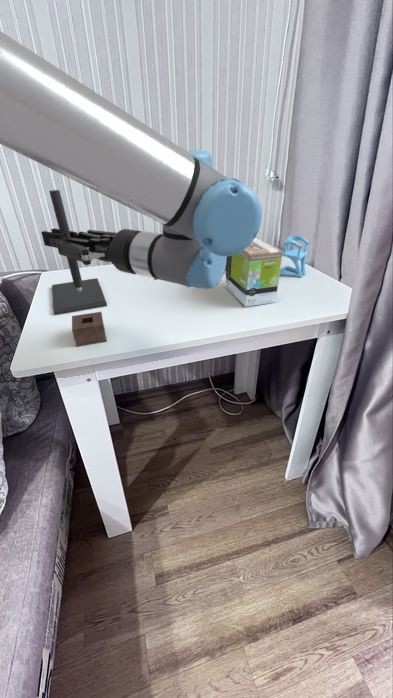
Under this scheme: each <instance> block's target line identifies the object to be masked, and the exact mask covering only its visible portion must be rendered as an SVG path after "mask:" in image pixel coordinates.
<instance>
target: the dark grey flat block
mask: <svg viewBox="0 0 393 698" xmlns="http://www.w3.org/2000/svg"><path fill="white" fill-rule="evenodd" d="M82 283H83V286H82V290H81V292H79V291H78V290H77V288H75V287H74V283H73V281H69V282H62V283H56V284H51V290H52V293H51V294H52V310H53V315H54V316H58V315H63V314H68V313H69V314H70V313H75V312H80V311H85V310H92V309H97V308H102V307H103V308H104V307H107V306H108V303H107V301H106V297H105V294H104V291H103V289H102V287H101V285H100V282H99V279H98V278H97V277H96V278H90V279H89V278H87V279H82Z"/></svg>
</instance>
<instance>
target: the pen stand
mask: <svg viewBox="0 0 393 698" xmlns="http://www.w3.org/2000/svg"><path fill="white" fill-rule="evenodd" d="M71 332H72V335H73V339H74V344H75V346H76V347H82V346H87V345H92V344H93V345H95V344H100V343H106V342H107V341H108V340H107V334H106V328H105V322H104V318H103V314H102V311H97V312H89V313H82V314H75V315H71Z"/></svg>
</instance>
